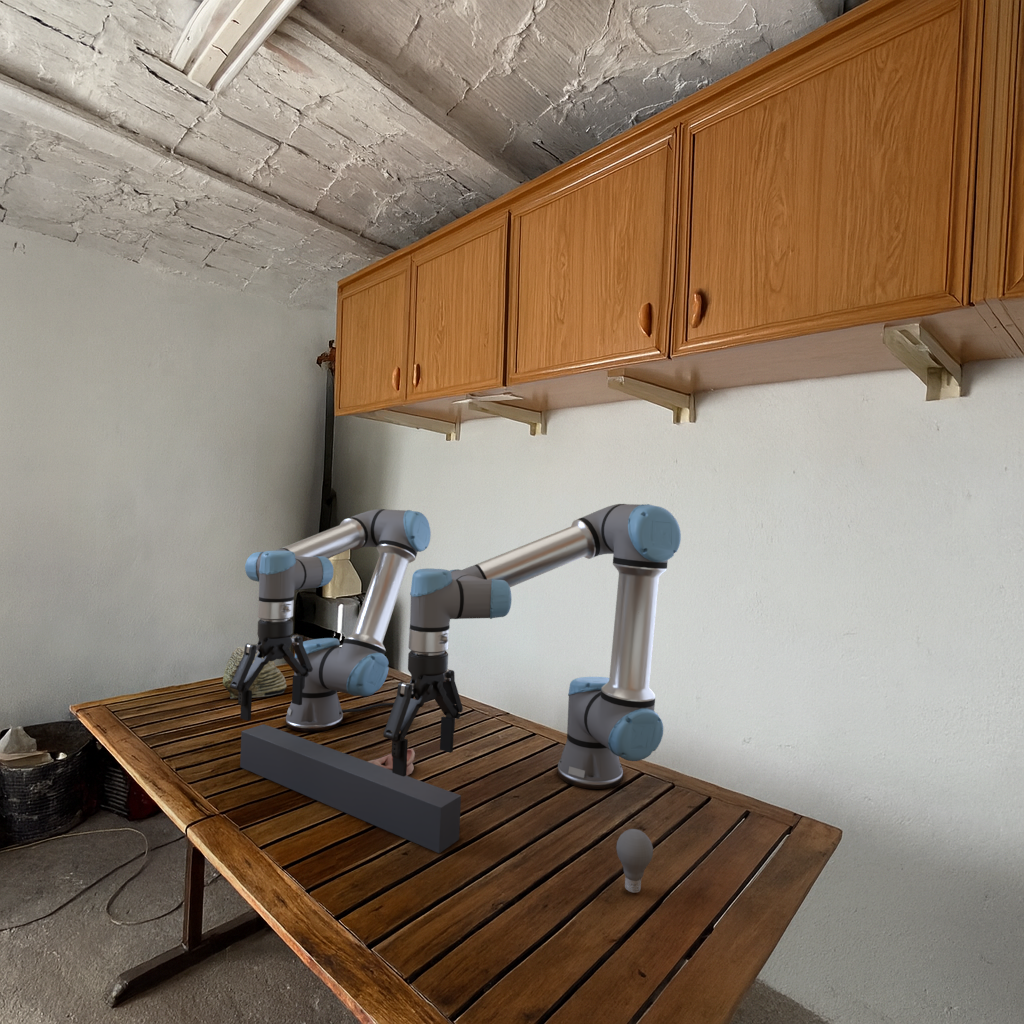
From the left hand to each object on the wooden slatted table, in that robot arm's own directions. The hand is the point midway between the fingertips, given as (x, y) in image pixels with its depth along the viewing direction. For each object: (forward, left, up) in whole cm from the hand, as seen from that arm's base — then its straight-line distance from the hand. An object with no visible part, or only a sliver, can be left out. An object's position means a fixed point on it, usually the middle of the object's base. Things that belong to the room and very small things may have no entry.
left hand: (272, 711), depth 145 cm
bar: (-2, +23, -14) cm, 26 cm away
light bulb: (-16, +84, -14) cm, 86 cm away
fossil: (-26, -53, -14) cm, 60 cm away
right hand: (-5, +45, 0) cm, 45 cm away
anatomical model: (-18, +19, -14) cm, 29 cm away
